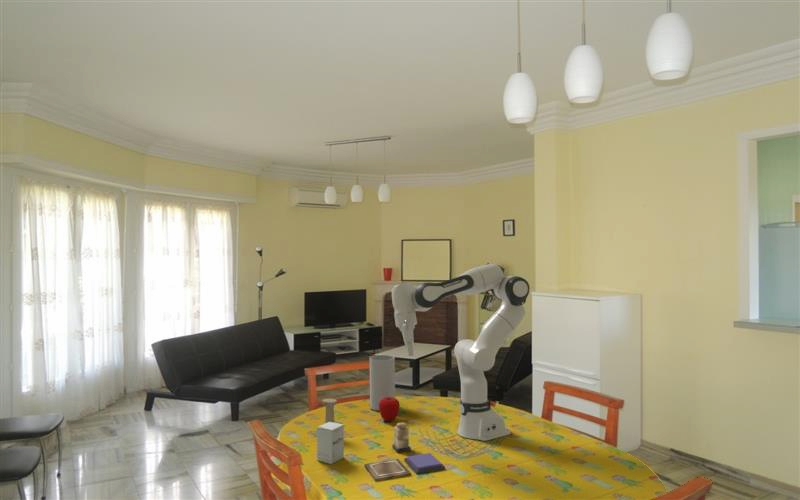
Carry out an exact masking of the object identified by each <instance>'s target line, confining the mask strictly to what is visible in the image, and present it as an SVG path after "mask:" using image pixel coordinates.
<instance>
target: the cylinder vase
mask: <svg viewBox="0 0 800 500" xmlns="http://www.w3.org/2000/svg"><path fill="white" fill-rule="evenodd" d="M395 359H396V358H395V356H393V355H388V354H380V355H379V354H378V355H372V356H369V408H370V410H373V411H375V412H380V411H379V402H380V400H381V399H383V398H389V397H392V398H396V382H395V381H396V374H395V373H396V372H395V370H396V369H395V368H396V367H395V365H396V364H395V361H396V360H395Z"/></svg>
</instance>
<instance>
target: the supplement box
mask: <svg viewBox="0 0 800 500" xmlns="http://www.w3.org/2000/svg"><path fill="white" fill-rule="evenodd" d="M344 429H345V428H344V424H343V423H339V422H338V423H337V422H334V423H333V422H328V423H325V422H324V424H321V425H319V426H317V427H316V460H317V461H319V462H321V463H326V464H329V465H333V464H334V463H336V462H339V460H341V459H344V458H345V454H344V453H345V451H344V450H345V449H344V448H345V447H344V446H345V445H344V444H345V443H344V441H345V440H344V439H345V434H344V432H345V430H344Z"/></svg>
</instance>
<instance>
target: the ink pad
mask: <svg viewBox="0 0 800 500" xmlns="http://www.w3.org/2000/svg"><path fill="white" fill-rule="evenodd" d="M403 460H404V463H405V464H406V465H407V466H408V467H409V468H410V469H411V471H413V472H414V473H415V474H416V475H420V474H427V473H432V472H437V471H445V470H446V465H444V464H443V463H442V462H441V461H440V460H438V459H437V458H436V456H434V455H433V454H432V453H431V452H429V453H428V452H427V453H421V454H415V455H409V456H407V458H403Z"/></svg>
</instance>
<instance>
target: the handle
mask: <svg viewBox="0 0 800 500" xmlns="http://www.w3.org/2000/svg"><path fill="white" fill-rule="evenodd" d="M321 403H322V405H324V407H325V418H324V424H325V423H328V422H333V423H335V409H334V408H335V407H334V406H336V405H337V404H338V400H337V399H335V398H324V399H322V400H321Z"/></svg>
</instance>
